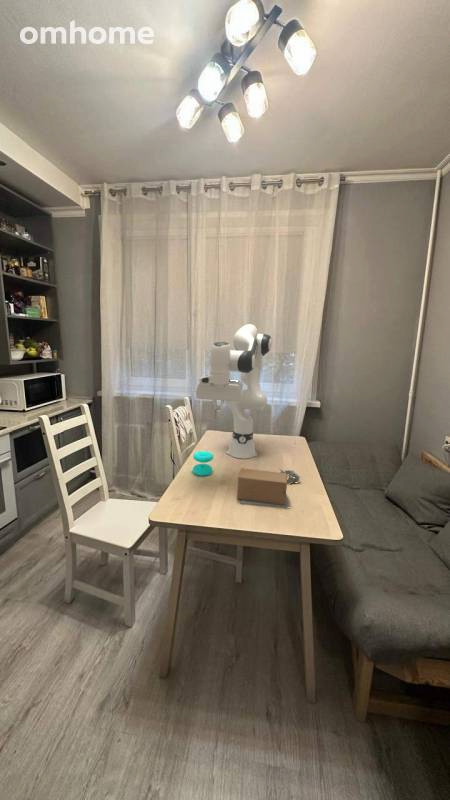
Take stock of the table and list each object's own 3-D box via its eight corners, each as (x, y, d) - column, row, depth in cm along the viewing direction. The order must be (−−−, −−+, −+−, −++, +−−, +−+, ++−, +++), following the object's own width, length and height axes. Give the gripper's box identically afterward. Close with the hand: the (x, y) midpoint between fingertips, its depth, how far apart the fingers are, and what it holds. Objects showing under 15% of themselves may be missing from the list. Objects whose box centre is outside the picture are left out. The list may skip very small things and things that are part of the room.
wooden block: (236, 499, 130) (285, 505, 127) (238, 476, 128) (287, 482, 125) (239, 488, 139) (284, 494, 136) (240, 467, 138) (286, 472, 135)
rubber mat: (241, 488, 141) (241, 487, 141) (285, 492, 140) (285, 490, 140) (240, 503, 127) (240, 502, 127) (289, 508, 126) (289, 506, 126)
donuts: (193, 457, 149) (193, 450, 158) (193, 476, 150) (192, 468, 160) (214, 457, 150) (212, 450, 160) (213, 476, 152) (211, 468, 162)
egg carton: (277, 475, 158) (278, 468, 157) (290, 475, 159) (291, 467, 159) (286, 485, 147) (287, 477, 147) (301, 484, 149) (301, 476, 149)
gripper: (243, 379, 139) (241, 409, 142) (198, 377, 141) (197, 406, 143) (242, 381, 133) (240, 412, 136) (195, 378, 134) (194, 409, 137)
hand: (217, 409), depth 139 cm, fingers closed
